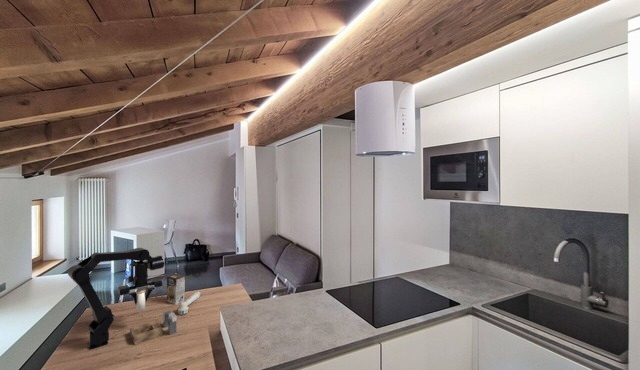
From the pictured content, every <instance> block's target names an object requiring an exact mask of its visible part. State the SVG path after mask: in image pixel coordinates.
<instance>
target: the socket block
mask: <svg viewBox="0 0 640 370" xmlns="http://www.w3.org/2000/svg"><path fill="white" fill-rule="evenodd" d="M129 335H130V338H131V340H132V342H133V345H134V346H135V345H138V344H142V343H145V342H147V341H150V340H153V339H154V340H155V339H156V338H159V337H162V336H163V328H162V327H161V325H160V324H159V321H157V320H154V321H150V322H147V323H144V324H139V325H137V326H133V327H131V328H129ZM141 342H142V343H141Z"/></svg>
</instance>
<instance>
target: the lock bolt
mask: <svg viewBox="0 0 640 370" xmlns="http://www.w3.org/2000/svg"><path fill="white" fill-rule="evenodd" d="M169 318H170V320H171V321H172V322H174V321H176V322H177V320H178V319H177V318H178V316H177V315H176V314H175V312H173V311H171V313H169Z"/></svg>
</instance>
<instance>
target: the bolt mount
mask: <svg viewBox="0 0 640 370" xmlns="http://www.w3.org/2000/svg"><path fill="white" fill-rule="evenodd" d="M169 313H172V311H170V310H167V311H163V313H162V315H163V316H162V317H163V318H162V321H163V323H162V325H163V328H167V329H168V330H167V333H168V335H169V336H171V335H173V334H177V321H174V322H172V321H171V320H170V318H169Z"/></svg>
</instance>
